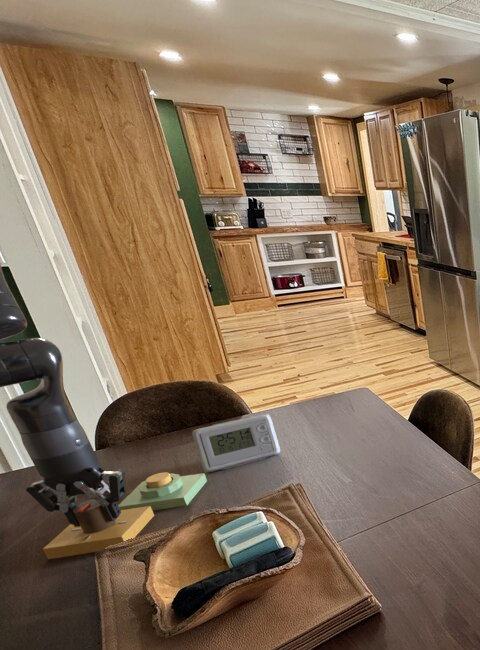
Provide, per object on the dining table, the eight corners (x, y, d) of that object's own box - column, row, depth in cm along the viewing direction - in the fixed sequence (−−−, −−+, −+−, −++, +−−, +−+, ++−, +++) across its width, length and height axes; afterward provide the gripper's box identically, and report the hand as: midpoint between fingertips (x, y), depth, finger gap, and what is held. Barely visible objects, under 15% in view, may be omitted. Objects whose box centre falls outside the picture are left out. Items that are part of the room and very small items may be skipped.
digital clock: (200, 476, 114) (186, 437, 110) (210, 458, 122) (196, 421, 118) (279, 460, 121) (268, 423, 117) (283, 445, 128) (273, 409, 124)
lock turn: (93, 520, 95) (82, 498, 93) (121, 516, 96) (111, 495, 94) (76, 535, 91) (64, 512, 89) (105, 531, 92) (94, 509, 90)
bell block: (119, 515, 100) (112, 500, 99) (146, 489, 109) (139, 474, 108) (187, 505, 104) (181, 490, 102) (207, 480, 112) (201, 466, 111)
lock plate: (48, 559, 88) (41, 548, 87) (84, 526, 97) (78, 515, 96) (126, 546, 92) (121, 535, 91) (154, 515, 100) (150, 505, 99)
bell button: (144, 490, 103) (141, 483, 102) (154, 480, 106) (151, 473, 106) (166, 487, 104) (163, 480, 103) (175, 477, 107) (173, 471, 107)
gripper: (119, 431, 92) (152, 503, 98) (24, 442, 88) (65, 516, 94) (95, 450, 85) (131, 526, 92) (-9, 463, 81) (37, 541, 88)
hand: (97, 521), depth 93 cm, fingers closed on lock turn, 4 cm apart
